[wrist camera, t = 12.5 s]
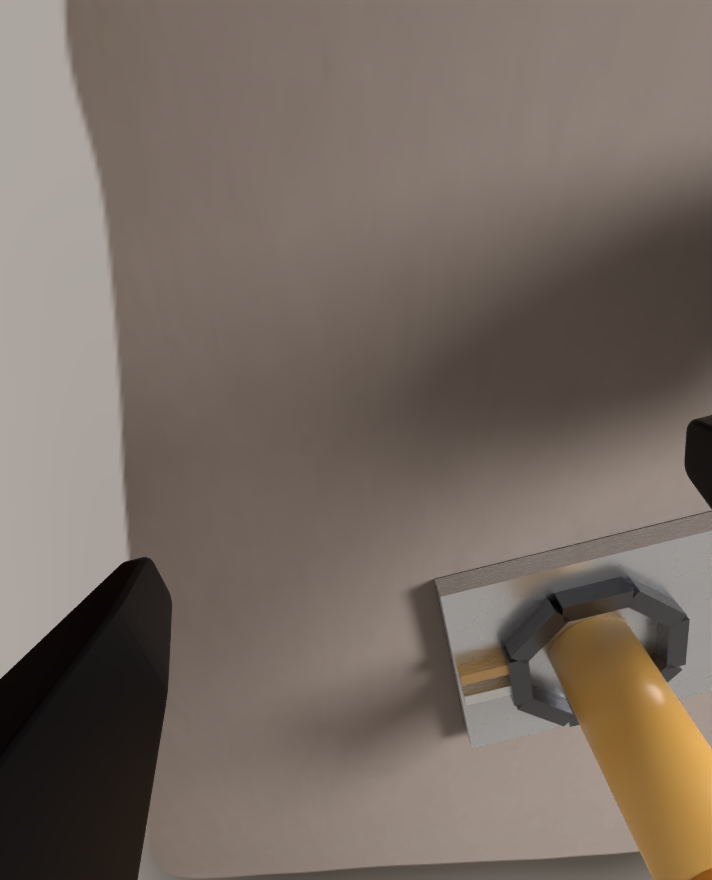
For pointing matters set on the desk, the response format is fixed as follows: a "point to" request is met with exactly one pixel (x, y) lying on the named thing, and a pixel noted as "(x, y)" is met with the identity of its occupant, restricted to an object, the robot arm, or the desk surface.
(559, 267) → the desk surface
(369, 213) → the desk surface
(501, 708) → the plate
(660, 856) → the domed yellow peg
